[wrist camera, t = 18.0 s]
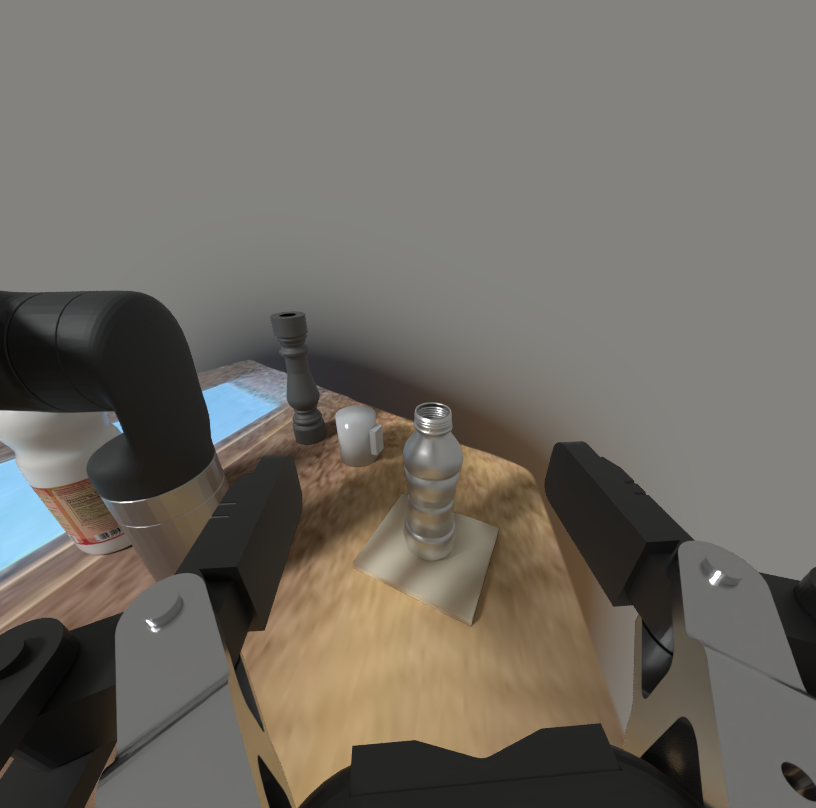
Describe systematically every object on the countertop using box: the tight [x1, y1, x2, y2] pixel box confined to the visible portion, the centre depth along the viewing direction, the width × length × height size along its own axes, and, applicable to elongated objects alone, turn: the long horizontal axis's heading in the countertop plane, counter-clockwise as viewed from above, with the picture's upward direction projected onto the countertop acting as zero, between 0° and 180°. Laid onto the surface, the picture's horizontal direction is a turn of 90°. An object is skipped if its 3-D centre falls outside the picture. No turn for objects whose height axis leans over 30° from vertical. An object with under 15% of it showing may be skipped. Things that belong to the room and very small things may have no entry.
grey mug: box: [335, 405, 384, 467], centre depth 57 cm, size 8×7×9 cm
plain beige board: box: [353, 493, 499, 626], centre depth 41 cm, size 15×13×1 cm
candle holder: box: [270, 312, 326, 445], centre depth 59 cm, size 6×6×25 cm
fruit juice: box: [0, 410, 132, 555], centre depth 38 cm, size 9×9×28 cm
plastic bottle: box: [402, 402, 463, 561], centre depth 36 cm, size 6×7×20 cm
